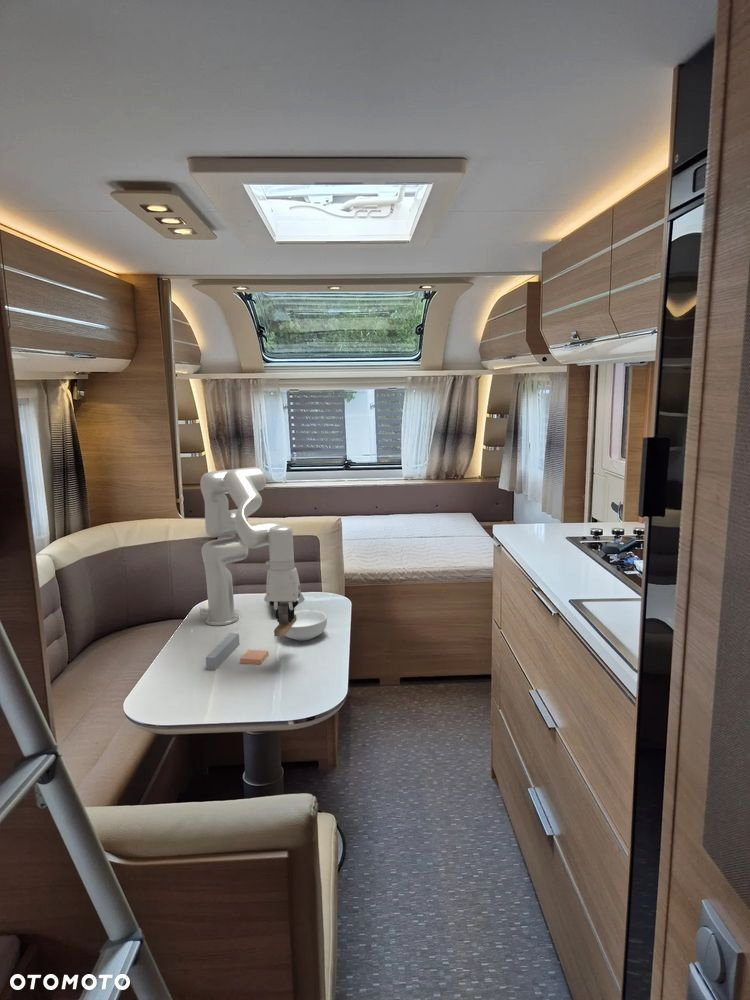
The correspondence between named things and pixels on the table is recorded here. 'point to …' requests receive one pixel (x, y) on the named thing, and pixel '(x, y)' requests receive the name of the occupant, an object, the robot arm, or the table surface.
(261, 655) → the tile
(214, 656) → the stop rail
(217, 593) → the robot arm
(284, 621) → the scraper
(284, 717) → the table surface
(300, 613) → the cereal bowl
